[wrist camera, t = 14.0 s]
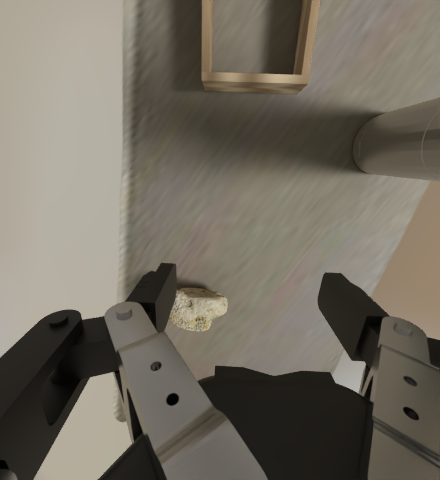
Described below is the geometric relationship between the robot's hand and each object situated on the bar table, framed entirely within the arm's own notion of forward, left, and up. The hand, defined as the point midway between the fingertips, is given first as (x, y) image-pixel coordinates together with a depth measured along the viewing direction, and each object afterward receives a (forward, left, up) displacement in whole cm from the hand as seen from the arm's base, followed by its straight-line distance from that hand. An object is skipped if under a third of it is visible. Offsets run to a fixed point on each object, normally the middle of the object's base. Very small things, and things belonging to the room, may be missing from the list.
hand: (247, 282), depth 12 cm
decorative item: (+6, +21, -30) cm, 37 cm away
